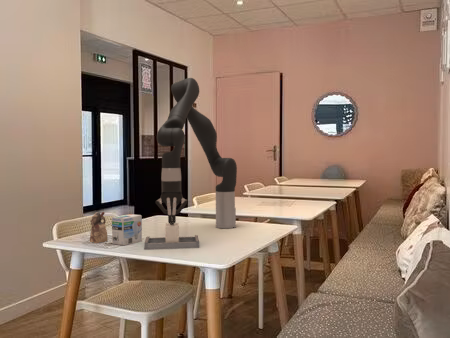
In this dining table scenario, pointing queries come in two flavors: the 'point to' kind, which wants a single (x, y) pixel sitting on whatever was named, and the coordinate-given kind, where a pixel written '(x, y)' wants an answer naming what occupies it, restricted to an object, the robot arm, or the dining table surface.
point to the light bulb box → (126, 229)
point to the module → (172, 233)
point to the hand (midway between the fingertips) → (171, 224)
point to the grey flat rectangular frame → (161, 243)
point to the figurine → (98, 228)
